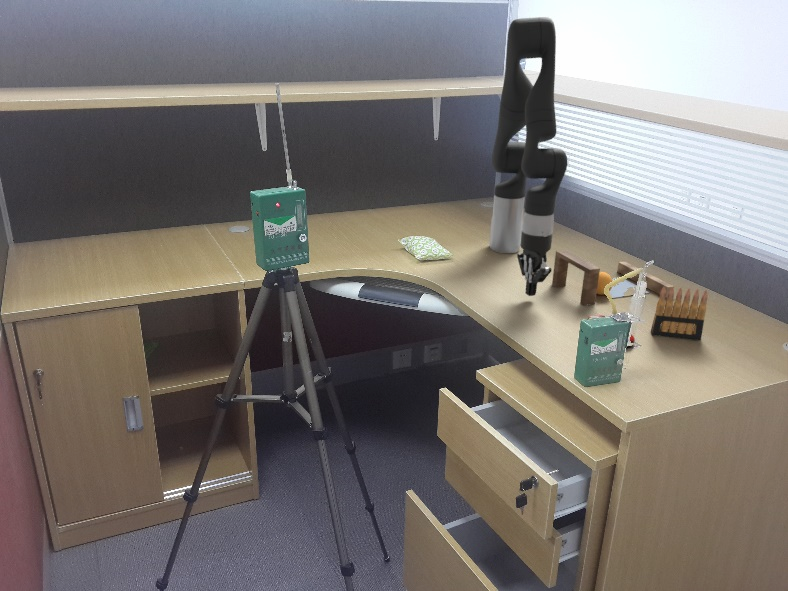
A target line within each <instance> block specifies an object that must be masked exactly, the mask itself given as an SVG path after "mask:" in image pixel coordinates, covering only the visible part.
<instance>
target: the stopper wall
mask: <svg viewBox="0 0 788 591" xmlns="http://www.w3.org/2000/svg"><path fill="white" fill-rule="evenodd" d="M636 269H639V268H638V267H636V266H634V265H633V264H630V263H629V262H626V261H618V264H617V270H616V272H617V273H618V274H620V273H621V274H620V275H622V274H623V275H622V276H624V275H625V274H627V273H629V272H631V271H634V270H636ZM646 273H647V276H646V281H647V289H649V290H650V291H652V292H654V293H656V294H658V295H660V293H661V290H662V288H663V287H664V286H665V289H666V295H665V299H667V298H668V294H669V291H670V289H671V288H672V287H673V288H674V289H675V286H674V285H672V284H670V283H668V282H667V281H664V280H662V279H660V278H658V277H657V276H654V275H652V274H650V273H649V272H646ZM638 278H639V274H637V275H636V276H634V277H632V278H630V280H631V281H633V282H635V283H637V281H638Z"/></svg>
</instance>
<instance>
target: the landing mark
mask: <svg viewBox="0 0 788 591" xmlns="http://www.w3.org/2000/svg"><path fill="white" fill-rule="evenodd" d="M616 277H617V276H616ZM616 277H612V278H613V279H612V280H614V279H616ZM618 277H619V276H618ZM618 277H617V278H618ZM618 284H619V285H617V284H616V286H615V287H614V286H613V287H612V289H611V290H610V295H611V294H612V295H611V296H612V297H613V299H618V298H619V297H621V298H623V297H622V296H624V294H623V293H624V292H626V291H627V290H628V289H627V288H629V287H633V289H634V290H635V288H634V287H636V286H637V285H636V284H635V283H633V282H630V281H629V280H627V279H625V281H624V282H620V283H618ZM647 294H650V292H649V291H648V290H646V294H645V295H647ZM613 299H612V300H613ZM619 299H620V298H619Z"/></svg>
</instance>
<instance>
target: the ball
mask: <svg viewBox="0 0 788 591" xmlns="http://www.w3.org/2000/svg"><path fill="white" fill-rule="evenodd" d="M612 278H613V277H611V275H610V274H609V273H607V272H605V271H600V272H599V279H598V286H597V292H596V295H600V296H601V295H605V294H604V288H605V286H606V285H607V284H609V283H610V282H612V281H613V280H612ZM611 289H612V287H610V288H609V291H610V290H611Z"/></svg>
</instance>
